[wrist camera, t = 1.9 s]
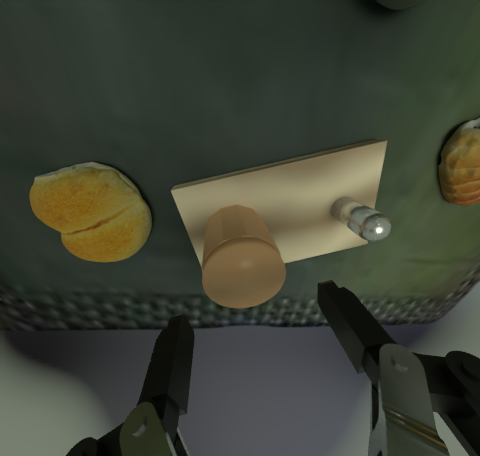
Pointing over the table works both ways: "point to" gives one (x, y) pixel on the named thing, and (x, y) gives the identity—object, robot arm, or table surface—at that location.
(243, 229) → the cap
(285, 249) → the board
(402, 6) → the plastic bottle
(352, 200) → the post
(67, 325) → the table surface
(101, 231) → the bread roll
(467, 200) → the pastry
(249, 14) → the table surface
